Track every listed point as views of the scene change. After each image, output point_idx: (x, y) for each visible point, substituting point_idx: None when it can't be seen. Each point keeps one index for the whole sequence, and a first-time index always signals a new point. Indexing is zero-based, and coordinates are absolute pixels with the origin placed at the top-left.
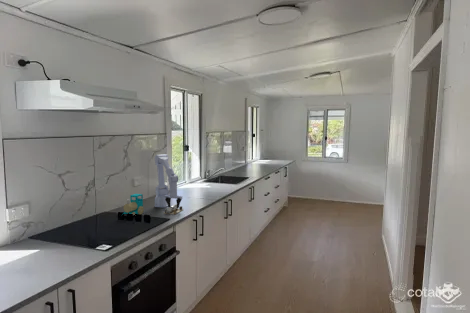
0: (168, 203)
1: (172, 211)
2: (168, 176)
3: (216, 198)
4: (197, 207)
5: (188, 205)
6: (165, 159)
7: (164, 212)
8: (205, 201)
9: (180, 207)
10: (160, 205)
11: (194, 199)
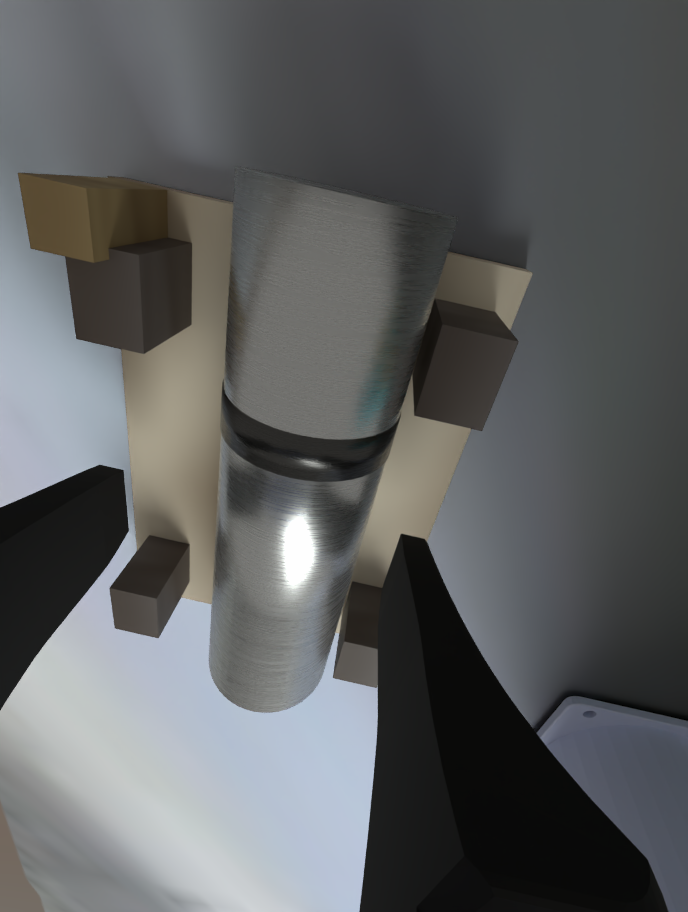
0: (416, 635)
1: None
2: None
3: (54, 882)
4: None
5: (199, 756)
6: None
7: (505, 299)
8: (92, 839)
9: (135, 580)
10: (669, 758)
11: (246, 893)
